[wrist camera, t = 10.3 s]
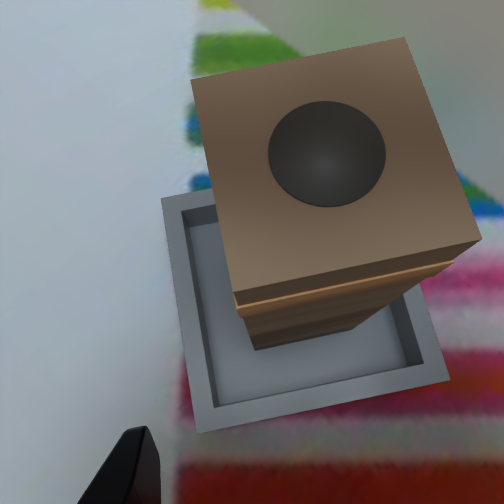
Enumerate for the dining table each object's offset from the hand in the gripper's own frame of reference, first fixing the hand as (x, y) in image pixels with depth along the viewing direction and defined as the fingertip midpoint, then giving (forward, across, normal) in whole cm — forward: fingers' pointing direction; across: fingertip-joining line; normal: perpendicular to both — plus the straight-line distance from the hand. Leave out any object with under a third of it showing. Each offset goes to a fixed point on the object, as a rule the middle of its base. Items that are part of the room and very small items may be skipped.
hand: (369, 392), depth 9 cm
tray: (+12, 0, +5) cm, 13 cm away
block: (+11, 0, +5) cm, 12 cm away
